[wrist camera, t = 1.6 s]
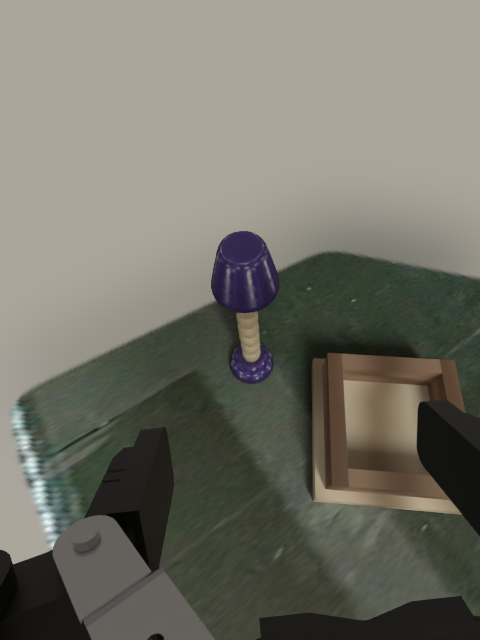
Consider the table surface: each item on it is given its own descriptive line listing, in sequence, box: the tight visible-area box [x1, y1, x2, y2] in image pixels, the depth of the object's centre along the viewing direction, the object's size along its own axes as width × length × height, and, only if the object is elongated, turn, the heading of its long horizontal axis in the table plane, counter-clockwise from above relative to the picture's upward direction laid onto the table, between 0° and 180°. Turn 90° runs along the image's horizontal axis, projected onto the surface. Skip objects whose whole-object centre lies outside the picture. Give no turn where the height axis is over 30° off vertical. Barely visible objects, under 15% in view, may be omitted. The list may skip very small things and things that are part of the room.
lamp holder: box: [312, 353, 466, 515], centre depth 31 cm, size 12×12×4 cm
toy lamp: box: [211, 231, 279, 384], centre depth 30 cm, size 5×5×17 cm
